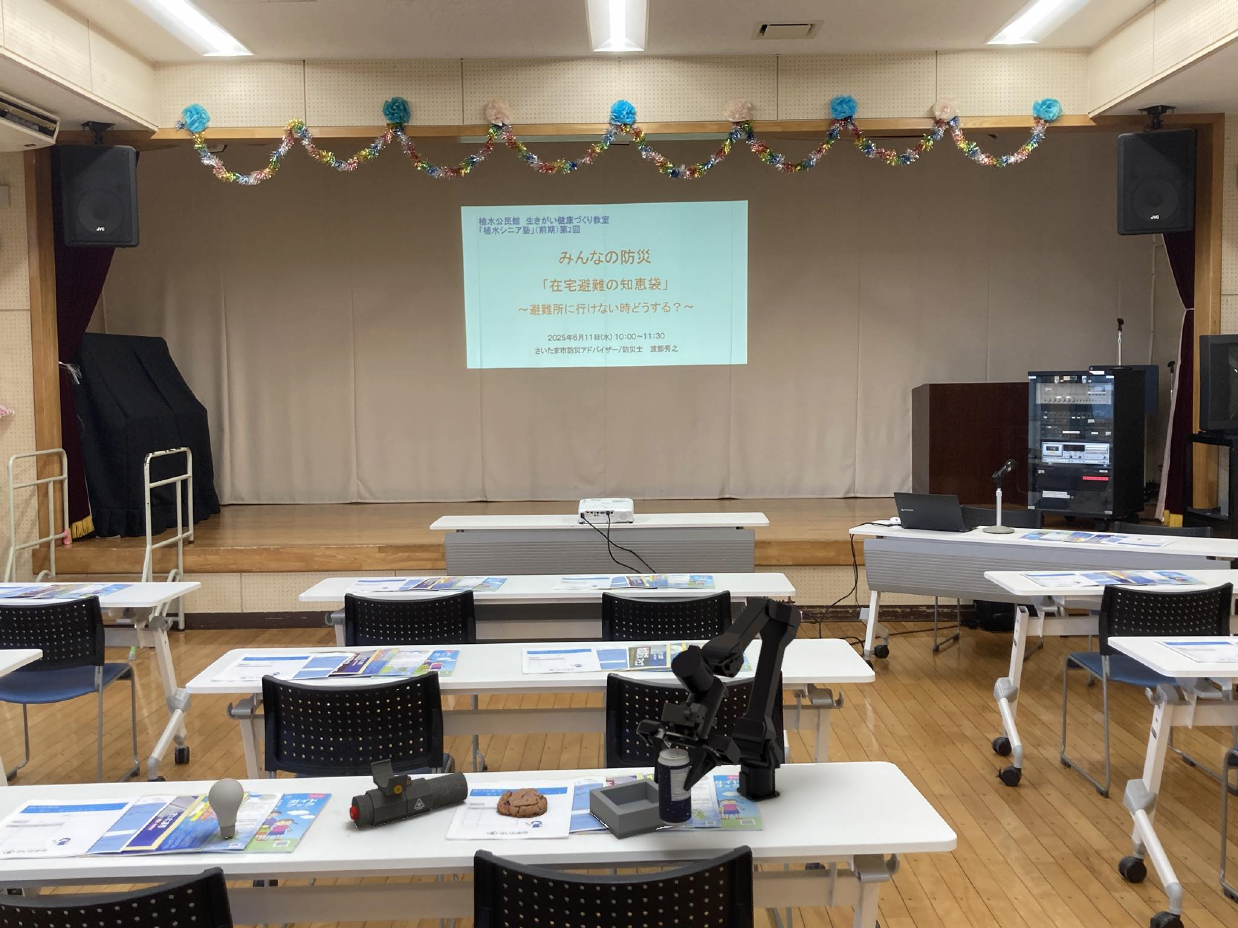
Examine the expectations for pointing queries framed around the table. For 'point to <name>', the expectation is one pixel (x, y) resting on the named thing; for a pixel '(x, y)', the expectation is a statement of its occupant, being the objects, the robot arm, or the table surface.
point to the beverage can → (674, 787)
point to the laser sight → (404, 795)
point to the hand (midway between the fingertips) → (670, 786)
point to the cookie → (522, 803)
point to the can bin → (628, 807)
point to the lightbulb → (226, 803)
